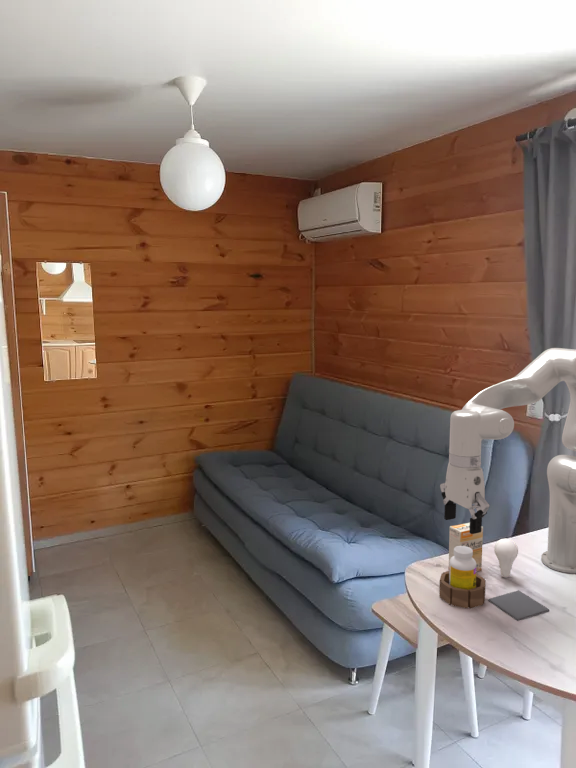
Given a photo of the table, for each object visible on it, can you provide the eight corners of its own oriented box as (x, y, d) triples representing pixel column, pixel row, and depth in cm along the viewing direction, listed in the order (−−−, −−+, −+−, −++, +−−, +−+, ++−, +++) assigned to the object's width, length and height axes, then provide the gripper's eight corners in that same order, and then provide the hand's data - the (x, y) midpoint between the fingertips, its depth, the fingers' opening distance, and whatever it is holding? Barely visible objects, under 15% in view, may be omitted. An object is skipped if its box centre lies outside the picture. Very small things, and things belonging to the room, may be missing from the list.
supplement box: (459, 577, 159) (460, 532, 157) (447, 569, 163) (448, 525, 161) (482, 570, 162) (483, 526, 160) (470, 563, 167) (472, 520, 164)
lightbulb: (517, 574, 159) (519, 536, 158) (516, 584, 154) (517, 545, 152) (494, 570, 162) (495, 533, 160) (492, 580, 157) (493, 542, 155)
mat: (518, 592, 150) (518, 590, 150) (549, 611, 141) (549, 609, 141) (488, 600, 147) (488, 598, 146) (517, 620, 137) (517, 618, 137)
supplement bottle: (477, 604, 145) (478, 556, 143) (449, 602, 146) (450, 554, 144) (474, 590, 152) (475, 544, 149) (448, 588, 153) (448, 543, 151)
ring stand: (465, 582, 156) (465, 566, 155) (494, 601, 146) (494, 585, 145) (431, 591, 152) (431, 575, 151) (458, 611, 142) (459, 594, 141)
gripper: (501, 467, 137) (498, 536, 139) (454, 450, 152) (452, 512, 155) (476, 471, 134) (473, 541, 136) (430, 453, 150) (429, 516, 152)
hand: (462, 525), depth 146 cm, fingers open, 9 cm apart
